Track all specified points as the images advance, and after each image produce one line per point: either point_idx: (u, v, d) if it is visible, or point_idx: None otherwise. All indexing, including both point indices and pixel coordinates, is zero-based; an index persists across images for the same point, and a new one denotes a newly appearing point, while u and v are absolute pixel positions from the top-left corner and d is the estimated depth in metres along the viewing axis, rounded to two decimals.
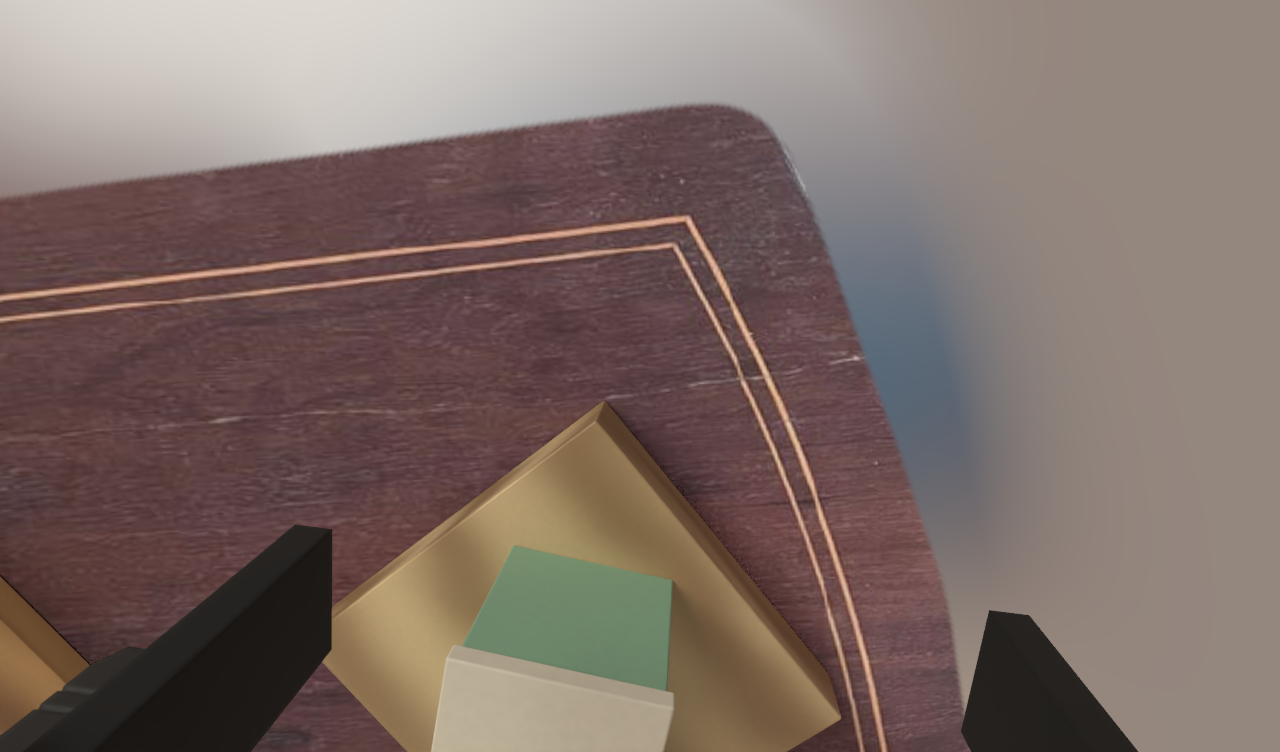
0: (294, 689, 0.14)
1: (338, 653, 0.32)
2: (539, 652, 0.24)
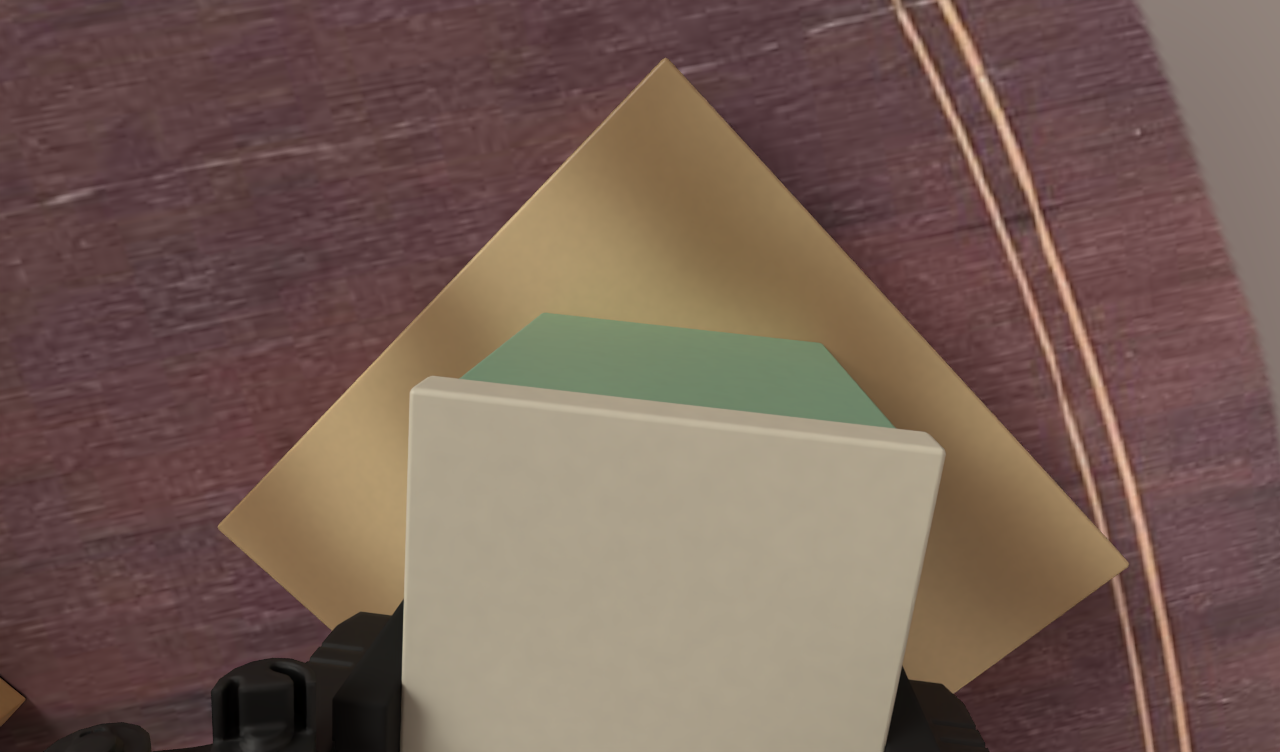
0: None
1: (275, 540, 0.19)
2: (615, 395, 0.11)
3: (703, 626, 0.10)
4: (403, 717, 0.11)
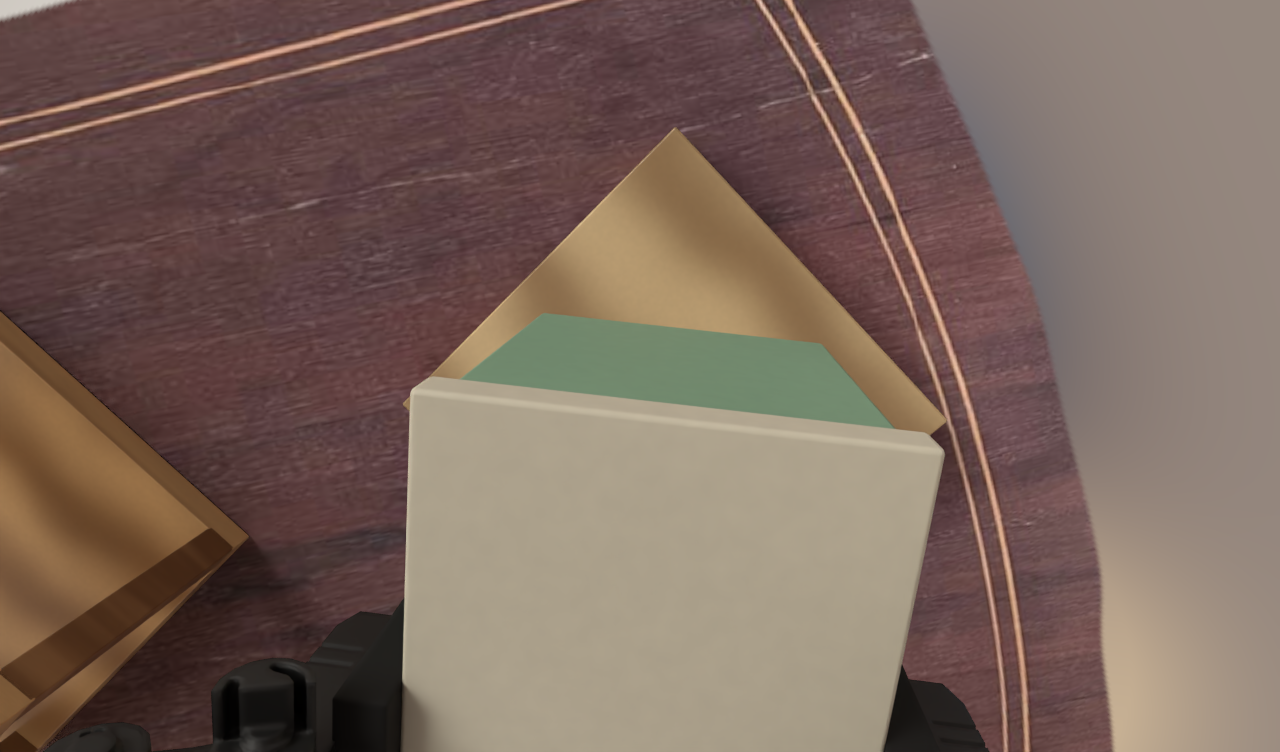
0: None
1: None
2: (615, 394, 0.11)
3: (703, 626, 0.10)
4: (404, 718, 0.11)
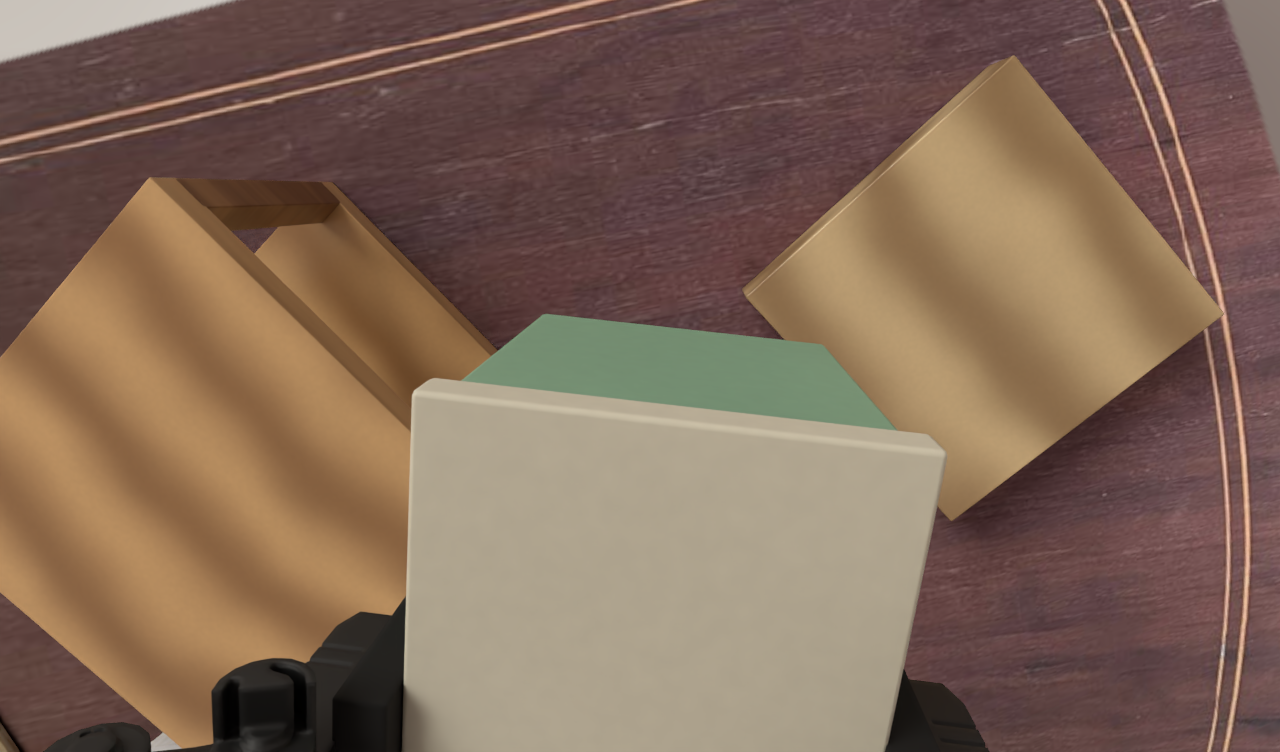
0: None
1: (777, 303, 0.37)
2: (617, 397, 0.11)
3: (705, 628, 0.10)
4: (405, 720, 0.11)
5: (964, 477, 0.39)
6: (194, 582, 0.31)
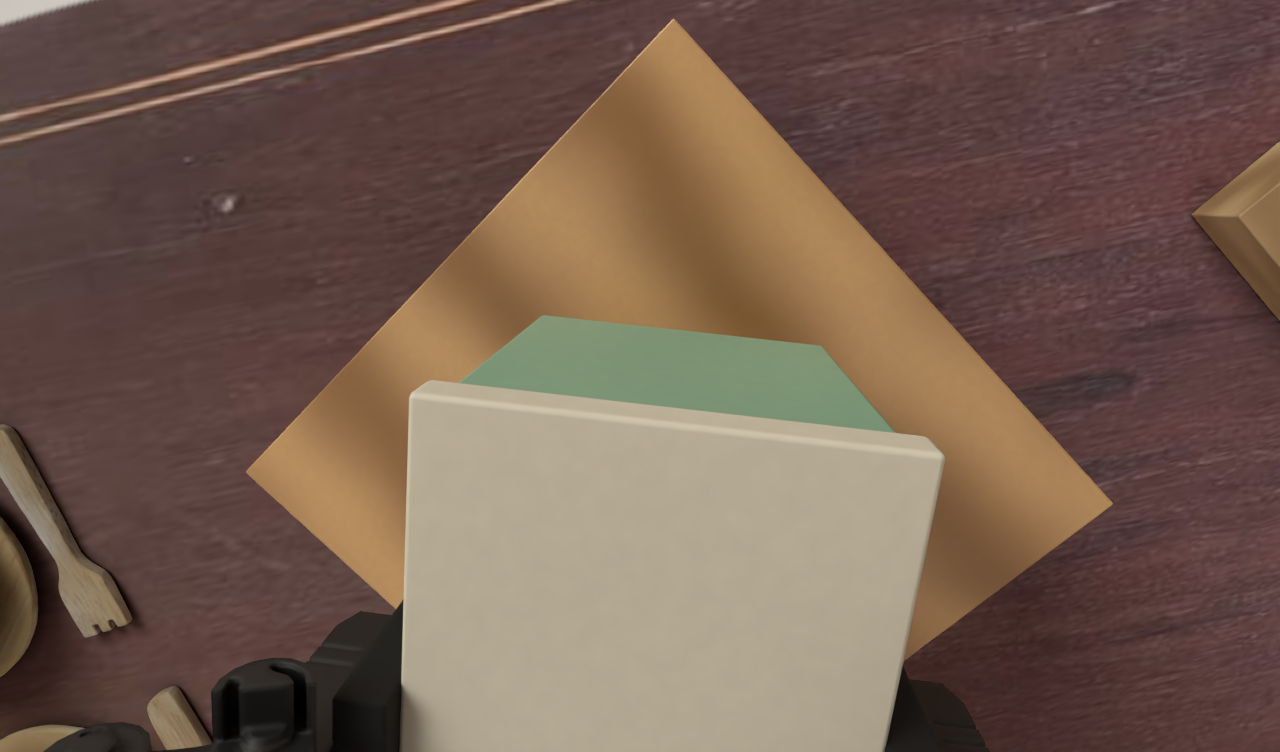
0: None
1: (1279, 223, 0.30)
2: (615, 398, 0.11)
3: (703, 630, 0.10)
4: (403, 722, 0.11)
5: None
6: None
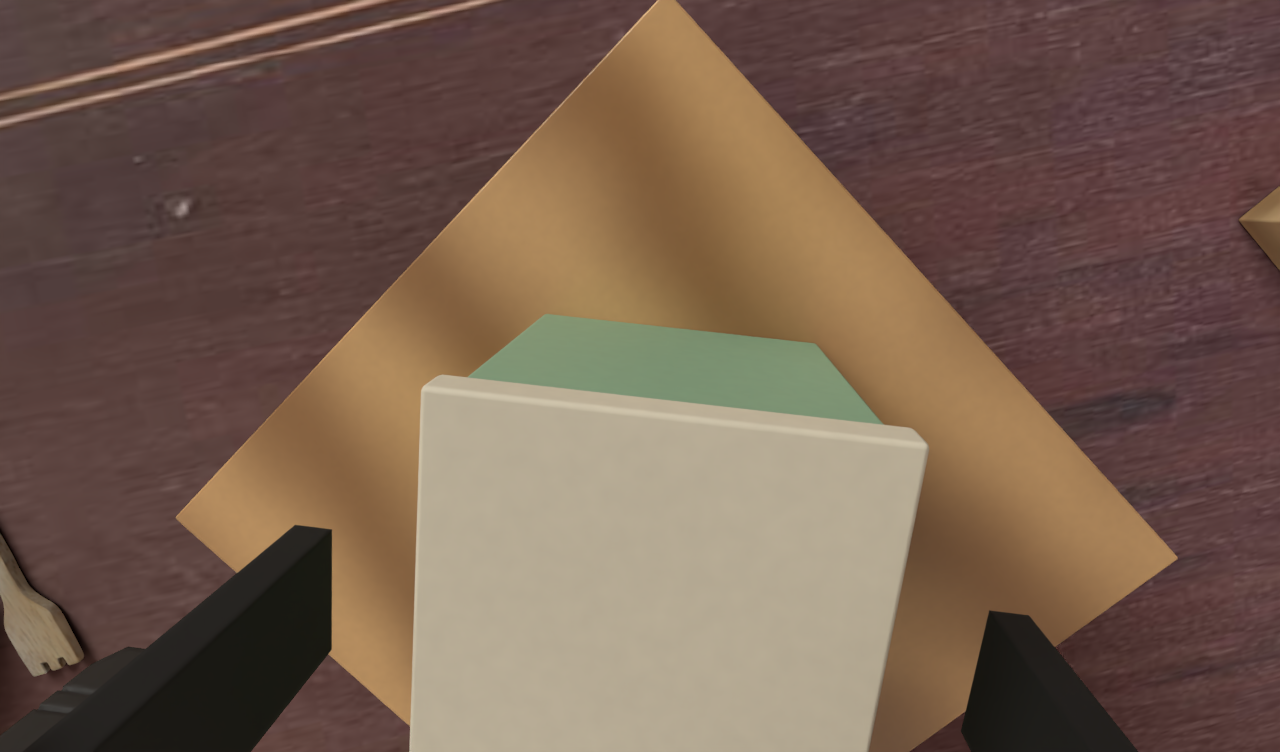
0: (294, 689, 0.14)
1: None
2: (616, 392, 0.12)
3: (700, 613, 0.11)
4: (413, 701, 0.11)
5: None
6: None
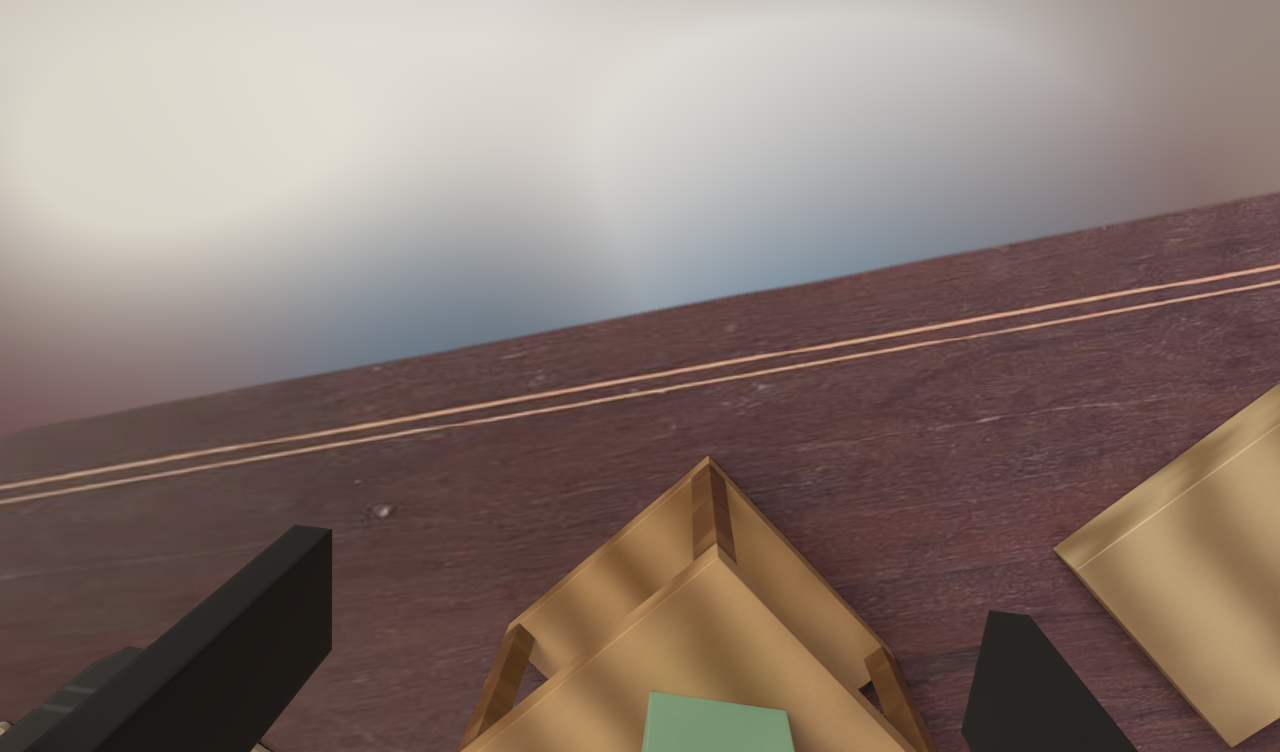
0: (294, 689, 0.14)
1: (1102, 576, 0.45)
2: None
3: None
4: None
5: (1246, 713, 0.46)
6: None
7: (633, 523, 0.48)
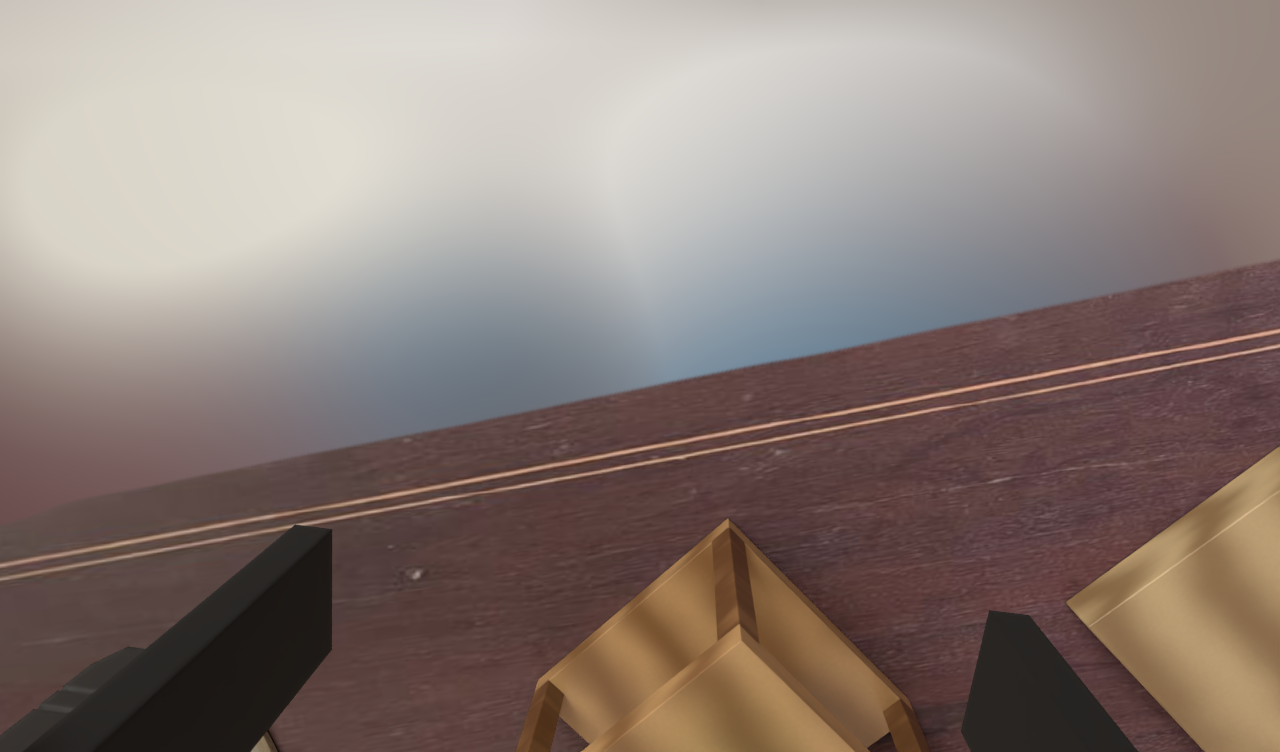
0: (294, 689, 0.14)
1: (1114, 632, 0.46)
2: None
3: None
4: None
5: None
6: None
7: (656, 584, 0.50)
